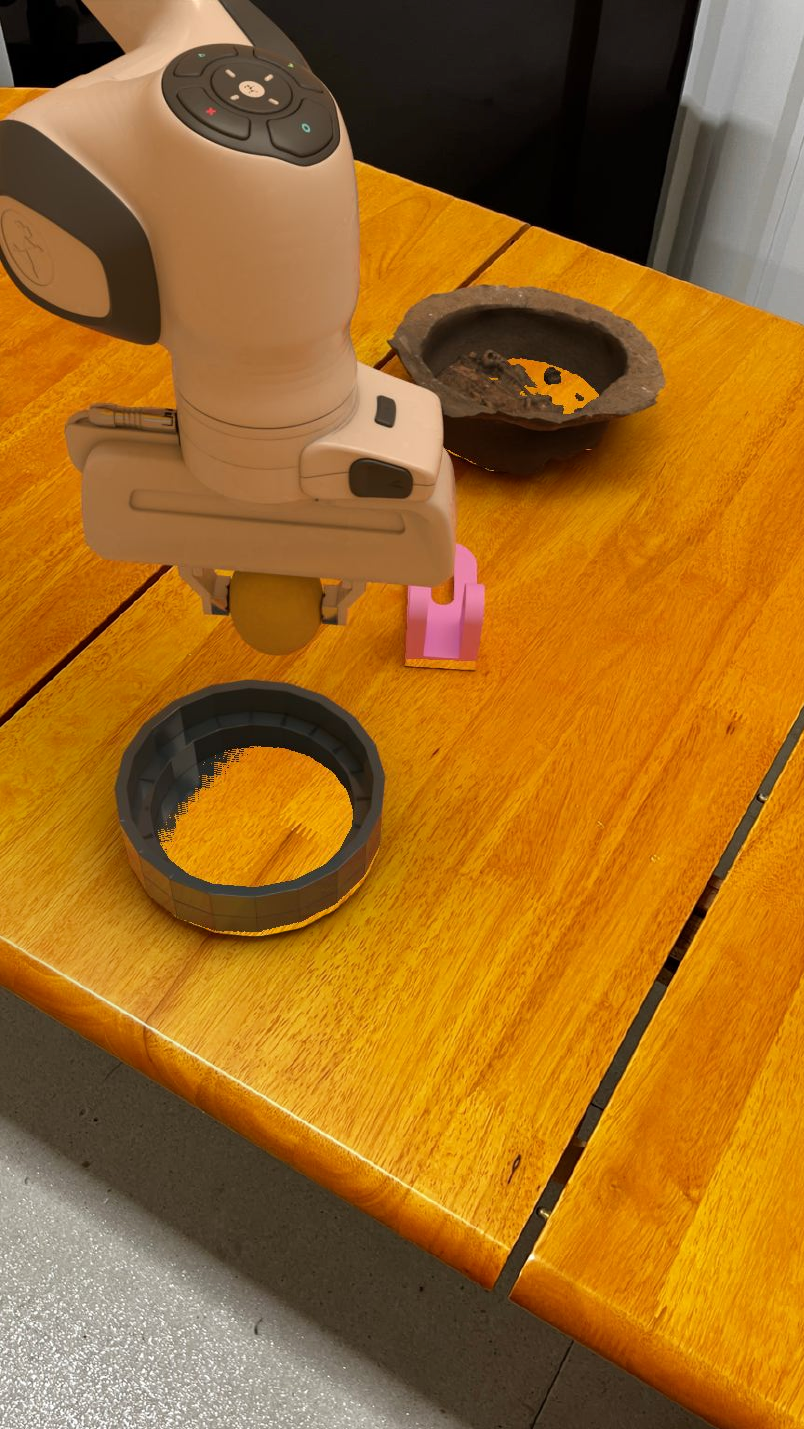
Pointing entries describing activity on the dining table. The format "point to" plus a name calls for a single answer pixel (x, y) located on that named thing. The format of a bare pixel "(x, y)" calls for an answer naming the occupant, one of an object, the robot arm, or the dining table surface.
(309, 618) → the lemon
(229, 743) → the dark grey round ring
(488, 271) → the dining table surface
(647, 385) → the stone bowl
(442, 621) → the bracket
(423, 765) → the dining table surface
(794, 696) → the dining table surface
